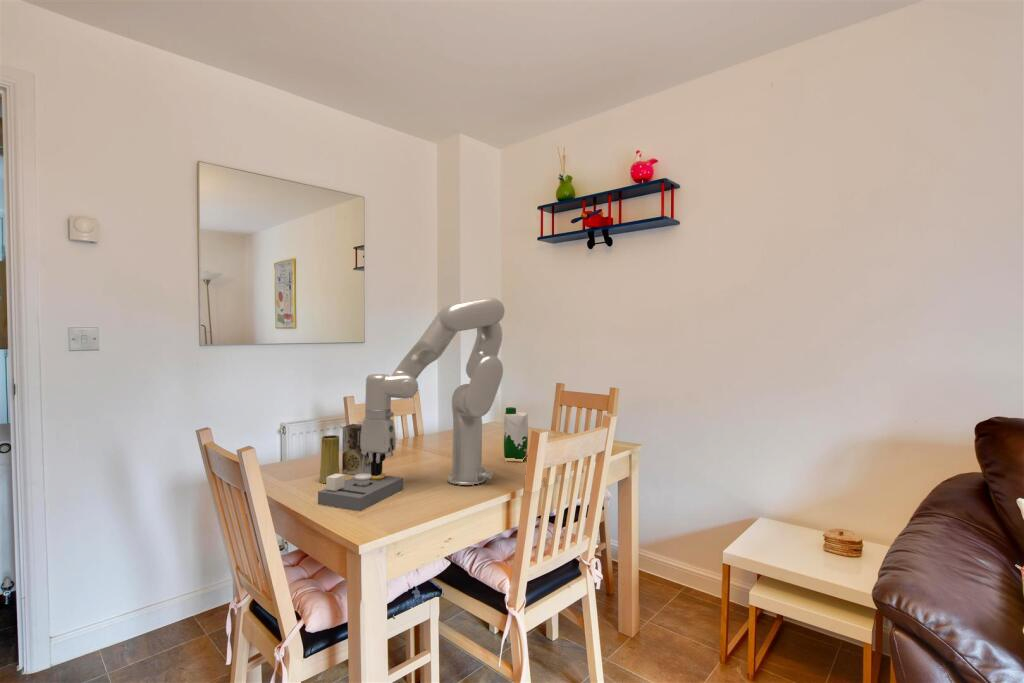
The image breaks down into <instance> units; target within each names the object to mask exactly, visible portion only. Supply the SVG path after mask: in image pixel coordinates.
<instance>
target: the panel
mask: <svg viewBox="0 0 1024 683" xmlns="http://www.w3.org/2000/svg"><path fill="white" fill-rule="evenodd" d="M369 474H371V473H369ZM402 490H404V477H399V476H393V475H386V474H385V478H383V479H382V480H380V481H376V480H371V479H369V486H366V487H359V486H356V480H355V479H354V476H353V477H350V478H348V479H346V480H345V487H343V488H341V489H339V490H338V491H332V490H326V488H324V489H320V490H318V491H317V505H320V504H322V505H321V506H326V505H328V507H332V506H334V507H333V508H338V507H340V509H344V508H345V510H350V509H351V510H353V511H356V510H357V511H358V512H362V511H364V510H365V509H367V508H369V507H371V506H373V505H374V503H375V504H377V503H378V501H379V502H381V501H383V500H384V498H385V499H386V497H387V498H389V497H390V495H391V496H393V495H395V494H397V493H399V492H401V491H402ZM394 493H395V494H394ZM392 494H393V495H392ZM388 496H389V497H388ZM382 499H383V500H382ZM380 500H381V501H380ZM376 502H377V503H376Z"/></svg>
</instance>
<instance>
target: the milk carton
mask: <svg viewBox="0 0 1024 683" xmlns="http://www.w3.org/2000/svg"><path fill="white" fill-rule="evenodd" d="M503 417H504V419H503V420H504V421H503V428H504V429H503V454H504V455H503V457H505V458H515V459H523V458H524V457H525V456H526V457H527V452H528V445H529V444H528V443H529V442H528V438H529V433H528V432H529V418H528V417H529V416H528V412H521V411H517V407H512V406H510V407H506V408H505V413H504V416H503Z"/></svg>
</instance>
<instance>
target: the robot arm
mask: <svg viewBox="0 0 1024 683" xmlns="http://www.w3.org/2000/svg"><path fill="white" fill-rule="evenodd" d="M504 316H505V306H504V304H503V303H502V302H501V301H500V300H499V299H497V298H496V297H495V298H494V297H488V298H482V299H478V300H473V301H468V302H461V303H454V304H449V305H446V306H444V307H442V308H441V309H440V310H439V312H437V315H436V316H435V317H434V319H433V320H432V321H431V323H430V324H429V325H428V327H427V328H426V330H425V331H424V332H423V334H422V335H421V336H420V338H419V339H418V340H417V342H416V343H415V344H414V345H413V347H412V348H411V349H410V350H409V351H408V353H407V354H406V355H405V356H404V357H403V359H402V360H401V361H400V362H399V364H398V366H397V367H396V368H395V370H394V371H393V372H392V374H391V375H390V374H385V373H373V374H368V375H367V376H366V379H365V407H364V410H365V411H364V418H363V419H362V420H363V421H362V423H361V424H362V429H361V438H360V447H361V453H362V454H364V455H367V457H368V458H369V461H370V462H371V475H372V476H378V475H380V474H382V473H383V462H384V461H385V460H386V459H387V458H391V457H394V452H393V451H395V450H396V431H395V430H396V429H395V423H394V419H393V417H394V412H393V411H392V399H393V398H396V399H403V400H404V399H406V400H407V399H411V398H412V397H415V395H416V394H417V392H418V391H419V382H418V381H417V379H418V377H419V376H420V375H421V373H423V371H424V370H425V369H426V368H427V367H428V366H429V365H430V364H432V363H433V362H435V361H436V360H438V359H439V358H440V357H441V356H442V355H443V354H444V352H445V351H446V349H447V348H448V346H449V345H450V343H451V341H452V340H453V339H454V337H455V336H456V335H457V333H458V332H463V331H468V330H475V329H476V338H475V341H474V344H473V347H472V349H471V353H470V354H469V357H468V359H467V363H466V365H465V366H466V367H465V372H466V375H467V377H468V378H469V379H470V380H469V383H462V384H461V385H458V387H457V388H455V390H453V393H452V396H451V409H452V463H451V464H452V465H451V467H452V468H451V471H452V472H451V474H449V475H448V476H447V478H446V480H448V481H447V482H448V483H449V482H450V483H449V484H451V483H453V484H452V485H454V484H459V485H458V486H460V485H472V486H475V485H474V484H478V485H480V484H479V483H482V482H484V481H485V480H487V479H488V480H492V479H493V471H491V470H490V471H489V470H487V471H486V469H485V466H484V465H482V461H483V460H482V452H483V450H482V449H483V446H482V444H483V420H482V419H483V418H482V417H484V416H485V415H487V414H488V413H489V411H490V410H491V408H492V406H493V404H494V402H495V399H496V396H497V393H498V390H499V387H500V385H501V382H502V379H503V374H504V366H503V363H502V361H501V360H500V358H498V355H499V352H500V349H501V346H502V341H503V331H502V330H503V329H502V324H501V321H502V320H503V318H504ZM485 482H486V481H485ZM485 482H484V483H485ZM482 484H483V483H482Z"/></svg>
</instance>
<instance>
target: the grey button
mask: <svg viewBox="0 0 1024 683" xmlns="http://www.w3.org/2000/svg"><path fill="white" fill-rule="evenodd" d="M371 476H372V475H371V474H369V473H360V474H356V475H354V476H353V477H354V479H355V480H356V486H359V487H366V486H369V479H371Z"/></svg>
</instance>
